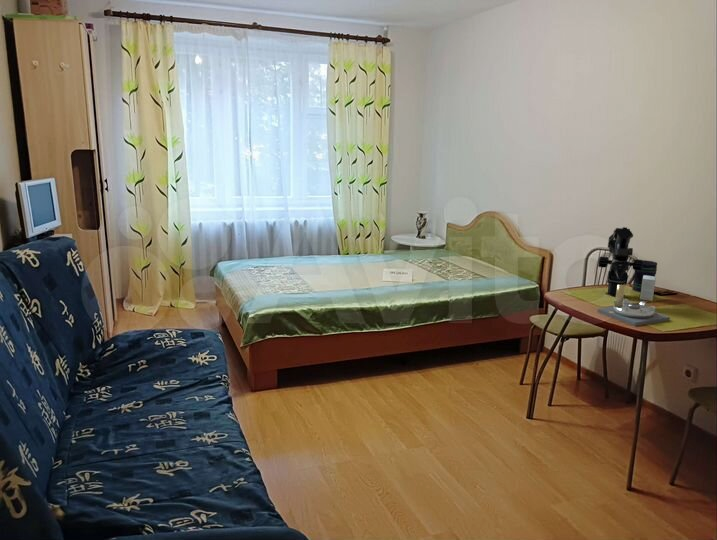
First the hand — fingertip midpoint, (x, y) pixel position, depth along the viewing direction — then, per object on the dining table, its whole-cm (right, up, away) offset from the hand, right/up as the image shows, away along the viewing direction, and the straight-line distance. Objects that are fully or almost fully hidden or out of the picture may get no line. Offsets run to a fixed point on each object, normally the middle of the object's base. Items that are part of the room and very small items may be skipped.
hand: (619, 278), depth 243 cm
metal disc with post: (-1, -15, -13) cm, 20 cm away
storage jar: (+26, -7, +28) cm, 39 cm away
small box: (+20, -10, +14) cm, 27 cm away
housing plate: (-1, -16, -13) cm, 21 cm away
